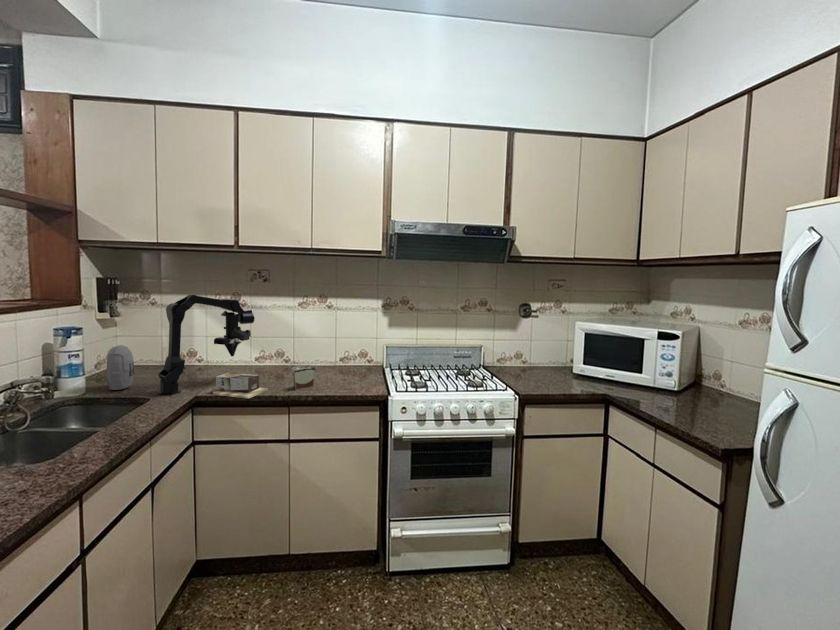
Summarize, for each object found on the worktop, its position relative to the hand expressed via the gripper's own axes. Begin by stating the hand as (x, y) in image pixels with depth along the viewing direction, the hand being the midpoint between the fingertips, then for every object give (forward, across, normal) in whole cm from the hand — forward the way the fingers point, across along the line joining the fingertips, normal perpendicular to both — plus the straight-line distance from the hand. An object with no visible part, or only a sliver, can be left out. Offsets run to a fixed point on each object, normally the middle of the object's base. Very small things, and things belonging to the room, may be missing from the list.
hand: (232, 356), depth 208 cm
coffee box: (+9, -14, -5) cm, 17 cm away
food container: (+13, +4, -36) cm, 39 cm away
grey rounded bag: (+13, -27, +37) cm, 48 cm away
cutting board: (+13, -14, -16) cm, 25 cm away
